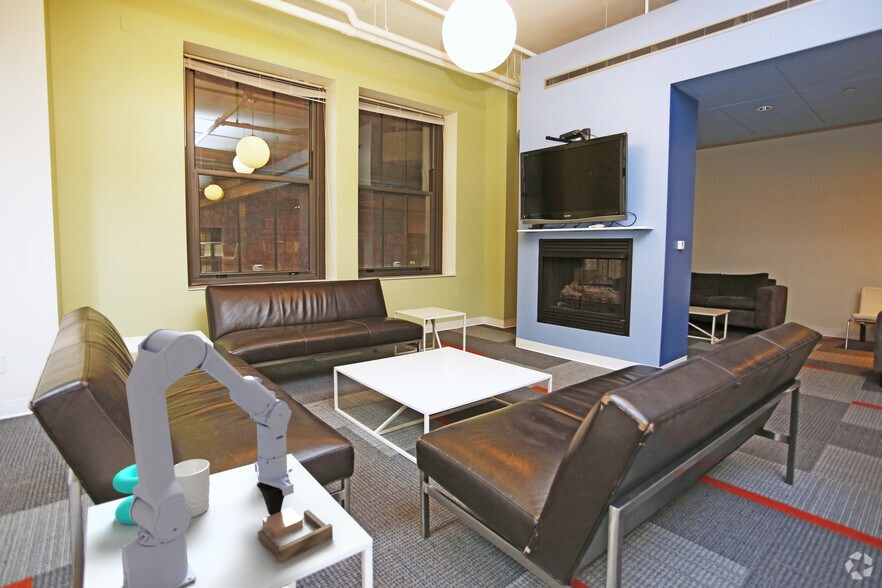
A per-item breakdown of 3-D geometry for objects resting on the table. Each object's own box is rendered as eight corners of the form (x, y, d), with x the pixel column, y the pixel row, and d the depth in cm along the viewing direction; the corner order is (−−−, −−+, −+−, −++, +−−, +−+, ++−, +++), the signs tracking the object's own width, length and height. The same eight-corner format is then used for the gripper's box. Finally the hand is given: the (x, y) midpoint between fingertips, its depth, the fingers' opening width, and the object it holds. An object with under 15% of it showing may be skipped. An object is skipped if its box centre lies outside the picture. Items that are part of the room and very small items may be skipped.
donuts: (171, 471, 99) (114, 487, 92) (173, 515, 100) (118, 533, 94) (162, 455, 106) (110, 468, 100) (165, 495, 108) (113, 511, 101)
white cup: (169, 508, 103) (166, 465, 101) (207, 496, 107) (205, 455, 106) (174, 525, 96) (171, 480, 95) (215, 512, 101) (212, 469, 100)
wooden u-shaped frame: (280, 563, 85) (279, 550, 85) (258, 538, 92) (257, 526, 92) (332, 537, 93) (332, 525, 92) (308, 516, 100) (307, 505, 99)
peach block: (275, 540, 92) (274, 531, 92) (262, 527, 96) (262, 518, 96) (302, 528, 96) (302, 519, 96) (289, 516, 101) (289, 507, 100)
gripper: (306, 458, 95) (308, 520, 97) (275, 437, 105) (277, 493, 107) (273, 470, 90) (275, 534, 92) (244, 446, 100) (246, 505, 102)
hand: (274, 513), depth 99 cm, fingers closed
